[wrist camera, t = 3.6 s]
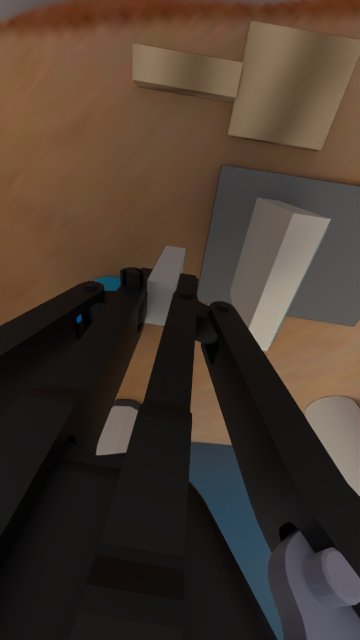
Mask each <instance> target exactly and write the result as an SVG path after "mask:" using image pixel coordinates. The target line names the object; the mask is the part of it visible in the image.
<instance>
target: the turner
mask: <svg viewBox="0 0 360 640" xmlns="http://www.w3.org/2000/svg"><path fill="white" fill-rule="evenodd" d="M359 55H360V40H358V39H352V38H346V37H341V36H335V35H329V34H324V33H318V32H312V31H307V30H301V29H295V28H290V27H284V26H278V25H273V24H267V23H261V22H256V21H251V22H250V25H249V28H248V33H247V38H246V43H245V48H244V53H243V58H242V62H237V61H232V60H226V59H220V58H214V57H209V56H203V55H197V54H191V53H186V52H180V51H174V50H168V49H163V48H157V47H151V46H146V45H140V44H134V43H133V53H132V80H133V81H134V83H135V84H136V85H137V87H142V88H148V89H154V90H160V91H166V92H171V93H177V94H183V95H189V96H195V97H200V98H206V99H212V100H218V101H224V102H230V103H233V108H232V113H231V118H230V123H229V128H228V133H227V136H229V137H235V138H241V139H247V140H253V141H259V142H265V143H271V144H276V145H282V146H288V147H294V148H300V149H306V150H312V151H320V150H322V147H323V145H324V142H325V140H326V137H327V135H328V132H329V130H330V127H331V125H332V122H333V120H334V117H335V115H336V112H337V110H338V108H339V105H340V103H341V100H342V98H343V95H344V93H345V90H346V88H347V85H348V83H349V80H350V78H351V75H352V73H353V70H354V68H355V65H356V63H357V60H358V58H359Z"/></svg>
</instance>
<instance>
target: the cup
mask: <svg viewBox="0 0 360 640" xmlns="http://www.w3.org/2000/svg"><path fill="white" fill-rule="evenodd" d="M305 416H306V419H307V421H308V422H309V424H310V425H311V427H312V429H313V430H314V432H315V433H316V435H317V436H318V438H319V439H320V441H321V443H322V444H323V446H324V447H325V449H326V450H327V452H328V453H329V455H330V457H331V458H332V460H333V461H334V463H335V464H336V466H337V467H338V469H339V471H340V472H341V474H342V475H343V477H344V478H345V480H346V482H347V483H348V484H349V485H350V486H351V487H352V488H353V490H354V491H355V492H356V493H357V494H358V495H359V496H360V409H359V407H358V406H357V404H356V403H355V402H354V401H353V400H352V399H350V398H347V397H343V396H330V397H325V398H321V399H318V400H316V401H314V402H312V403H311V404H310V405H309V406H308V407H307V408H306V410H305Z"/></svg>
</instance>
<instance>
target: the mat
mask: <svg viewBox="0 0 360 640" xmlns="http://www.w3.org/2000/svg"><path fill="white" fill-rule="evenodd" d="M257 197H259V198H265V199H271V200H278V201H282V202H284V203H287V204H290V205H293V206H296V207H298V208H301V209H304V210H307V211H310V212H312V213H315V214H318V215H321V216H324V217H326V218H329V219H331V220H330V222H329V224H328V226H327V227H328V229H327V231H326V234H325V236H324V238H323V240H322V242H321V244H320V246H319V248H318V250H317V252H316V254H315V256H314V258H313V260H312V262H311V264H310V266H309V268H308V270H307V272H306V275H305V277H304V279H303V281H302V283H301V285H300V287H299V289H298V291H297V293H296V295H295V297H294V299H293V301H292V303H291V305H290V307H289V309H288V311H287V313H286V316H289V317H296V318H302V319H308V320H314V321H321V322H327V323H333V324H339V325H345V326H352V327H354V326H355V325H356V324H357V322H358V321H359V320H360V187H359V186H353V185H347V184H340V183H334V182H328V181H321V180H315V179H309V178H302V177H296V176H289V175H283V174H277V173H270V172H264V171H258V170H251V169H245V168H239V167H232V166H226V165H222V166H221V171H220V176H219V181H218V186H217V191H216V197H215V202H214V207H213V212H212V217H211V222H210V227H209V233H208V238H207V243H206V248H205V253H204V258H203V263H202V269H201V274H200V279H199V284H198V289H197V296H198V300H199V301H200V302H202V303H209V304H211V303H212V302H215V301H224V302H227V303H229V304H231V305H232V300H231V295H230V290H231V286H232V283H233V279H234V276H235V273H236V269H237V266H238V262H239V259H240V255H241V252H242V248H243V245H244V242H245V238H246V235H247V231H248V228H249V224H250V221H251V218H252V214H253V211H254V207H255V204H256V200H257Z"/></svg>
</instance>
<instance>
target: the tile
mask: <svg viewBox="0 0 360 640" xmlns="http://www.w3.org/2000/svg"><path fill="white" fill-rule="evenodd" d="M330 220H331V219H329V218H326V217H324V216H321V215H318V214H315V213H312V212H310V211H307V210H304V209H301V208H298V207H296V206H293V205H290V204H287V203H284V202H282V201H278V200H271V199H265V198H259V197H257V200H256V204H255V207H254V211H253V214H252V218H251V221H250V224H249V228H248V231H247V235H246V238H245V242H244V245H243V248H242V252H241V255H240V259H239V262H238V266H237V269H236V273H235V276H234V279H233V283H232V286H231V290H230V295H231V300H232V305H233V306H234V307H235V308H236V310H237V312H238V313H239V315H240V316H241V318H242V319H243V321H244V323H245V324H246V326H247V327H248V329H249V330H250V332H251V333H252V335H253V337H254V338H255V340H256V341H257V343H258V344H259V346H260V347H261V349H262V351H267V350H268V348H269V346H270V344H271V343H272V342H273V340H274V338H275V336H276V334H277V332H278V330H279V328H280V326H281V324H282V322H283V320H284V318H285V316H286V313H287V311H288V309H289V307H290V305H291V303H292V301H293V299H294V297H295V295H296V293H297V291H298V289H299V287H300V285H301V283H302V281H303V279H304V277H305V275H306V272H307V270H308V268H309V266H310V264H311V262H312V260H313V258H314V256H315V254H316V252H317V250H318V248H319V246H320V244H321V242H322V240H323V238H324V236H325V234H326V231H327V229H328V227H327V226H328V224H329V222H330Z"/></svg>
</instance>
